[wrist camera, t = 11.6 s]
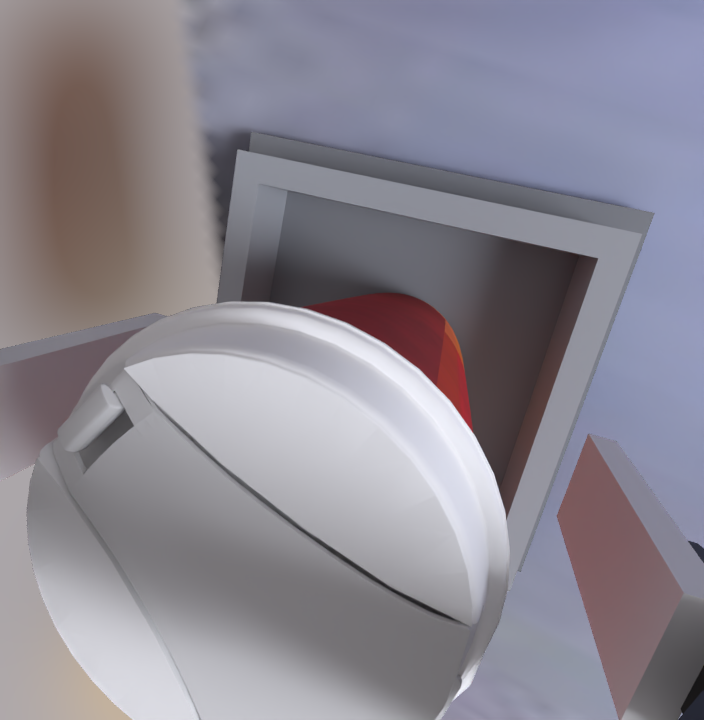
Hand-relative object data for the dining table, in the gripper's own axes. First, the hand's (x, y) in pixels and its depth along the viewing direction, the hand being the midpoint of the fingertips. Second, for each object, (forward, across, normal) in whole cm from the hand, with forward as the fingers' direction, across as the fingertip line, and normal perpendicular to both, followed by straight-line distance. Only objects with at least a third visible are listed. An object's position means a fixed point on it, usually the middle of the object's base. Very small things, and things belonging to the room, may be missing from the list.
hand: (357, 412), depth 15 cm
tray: (+8, 0, 0) cm, 8 cm away
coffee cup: (+7, 0, 0) cm, 7 cm away
